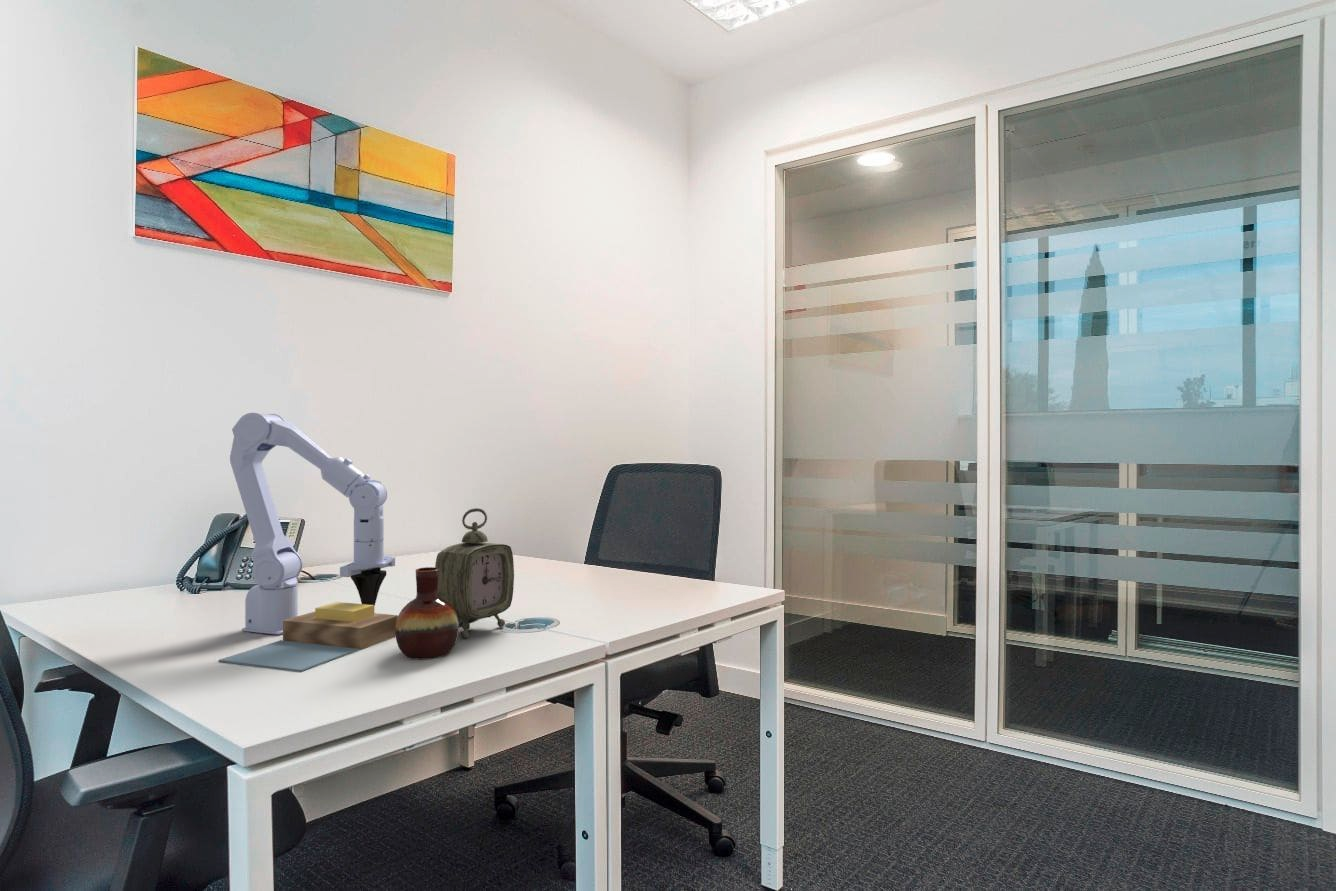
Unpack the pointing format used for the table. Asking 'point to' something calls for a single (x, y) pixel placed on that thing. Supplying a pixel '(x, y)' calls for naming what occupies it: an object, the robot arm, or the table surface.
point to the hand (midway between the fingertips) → (368, 606)
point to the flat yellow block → (344, 611)
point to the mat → (289, 655)
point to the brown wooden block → (340, 630)
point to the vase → (426, 620)
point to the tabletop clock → (476, 576)
